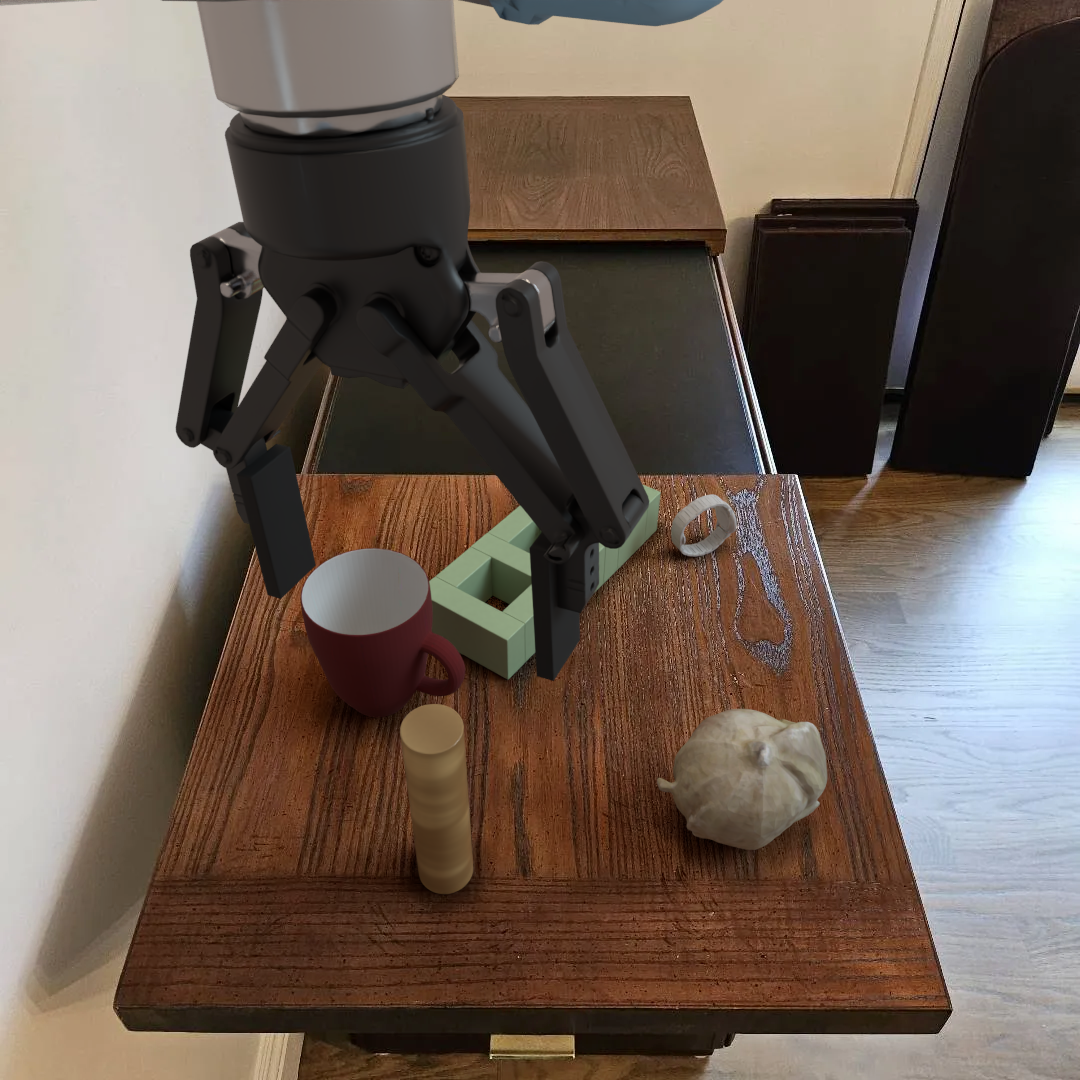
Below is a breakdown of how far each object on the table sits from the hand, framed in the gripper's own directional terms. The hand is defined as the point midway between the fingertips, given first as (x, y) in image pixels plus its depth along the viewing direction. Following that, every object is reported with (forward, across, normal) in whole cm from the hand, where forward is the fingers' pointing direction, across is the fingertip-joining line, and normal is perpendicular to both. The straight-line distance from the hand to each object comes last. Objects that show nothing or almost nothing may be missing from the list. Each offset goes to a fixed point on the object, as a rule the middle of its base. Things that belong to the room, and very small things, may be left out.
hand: (418, 617), depth 44 cm
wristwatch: (+20, -2, -36) cm, 41 cm away
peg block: (+20, +7, -27) cm, 34 cm away
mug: (+20, +11, -12) cm, 26 cm away
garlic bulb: (+22, -12, -12) cm, 28 cm away
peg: (+22, +2, -2) cm, 22 cm away
